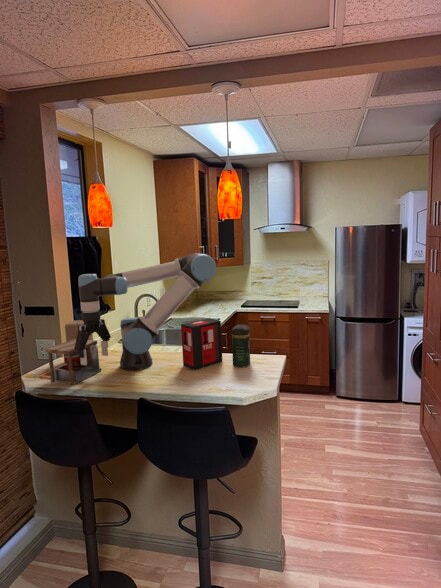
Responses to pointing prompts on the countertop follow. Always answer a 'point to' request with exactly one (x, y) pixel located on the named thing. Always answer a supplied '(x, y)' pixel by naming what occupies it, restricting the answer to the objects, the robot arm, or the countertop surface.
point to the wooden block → (74, 330)
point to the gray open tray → (82, 372)
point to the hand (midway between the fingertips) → (95, 360)
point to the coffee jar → (241, 346)
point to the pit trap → (46, 375)
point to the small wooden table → (68, 350)
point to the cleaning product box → (201, 343)
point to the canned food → (73, 361)
